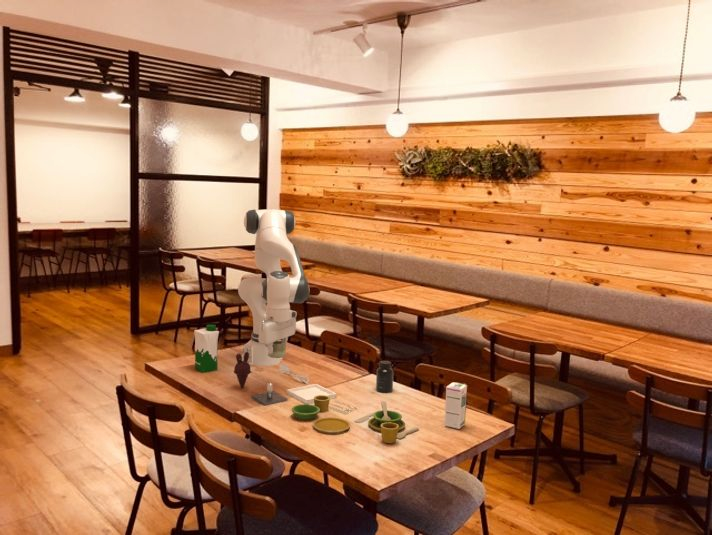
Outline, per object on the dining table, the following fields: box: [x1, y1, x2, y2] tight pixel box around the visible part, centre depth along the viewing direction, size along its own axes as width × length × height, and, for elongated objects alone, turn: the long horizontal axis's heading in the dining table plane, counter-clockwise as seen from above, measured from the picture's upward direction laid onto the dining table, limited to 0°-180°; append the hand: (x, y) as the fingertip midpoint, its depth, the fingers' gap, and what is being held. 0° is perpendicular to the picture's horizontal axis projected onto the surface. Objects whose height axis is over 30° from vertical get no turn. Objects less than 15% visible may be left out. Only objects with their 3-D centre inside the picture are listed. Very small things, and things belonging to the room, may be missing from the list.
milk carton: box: [193, 323, 220, 374], centre depth 259 cm, size 9×9×20 cm
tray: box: [286, 383, 338, 405], centre depth 235 cm, size 14×14×2 cm
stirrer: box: [278, 364, 310, 384], centre depth 255 cm, size 20×4×5 cm, turn 44°
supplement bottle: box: [375, 360, 394, 394], centre depth 245 cm, size 7×7×12 cm
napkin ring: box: [268, 340, 287, 358], centre depth 228 cm, size 6×6×5 cm
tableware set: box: [291, 395, 420, 444], centre depth 209 cm, size 41×28×6 cm
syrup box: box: [444, 382, 468, 430], centre depth 211 cm, size 6×6×14 cm
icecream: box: [233, 352, 252, 389], centre depth 239 cm, size 7×7×15 cm
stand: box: [250, 382, 288, 407], centre depth 229 cm, size 10×10×6 cm
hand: (277, 350), depth 228 cm, fingers closed on napkin ring, 6 cm apart
